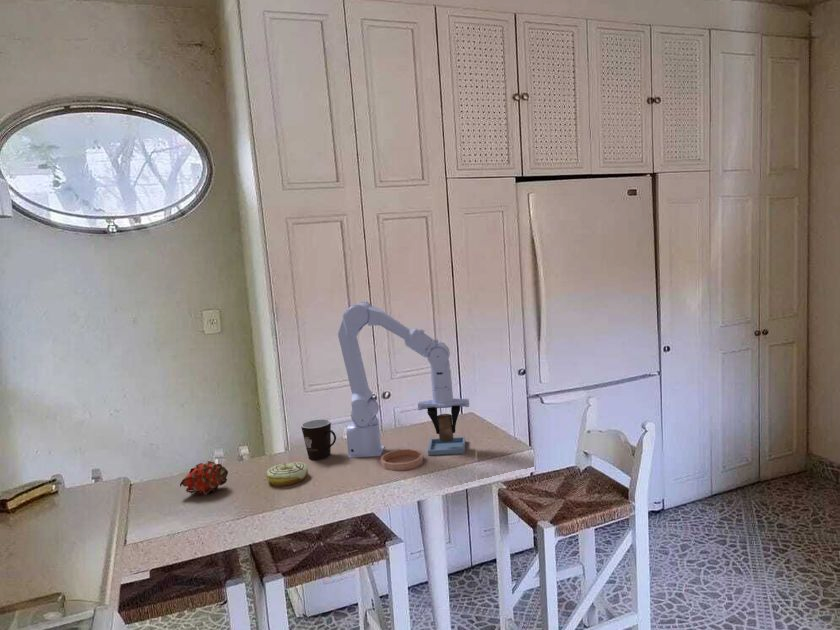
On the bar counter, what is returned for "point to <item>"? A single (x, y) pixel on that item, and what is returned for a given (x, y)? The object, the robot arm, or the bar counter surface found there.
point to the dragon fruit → (205, 478)
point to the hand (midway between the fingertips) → (445, 432)
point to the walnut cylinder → (445, 427)
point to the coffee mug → (318, 438)
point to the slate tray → (446, 447)
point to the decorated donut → (287, 473)
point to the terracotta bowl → (401, 459)
